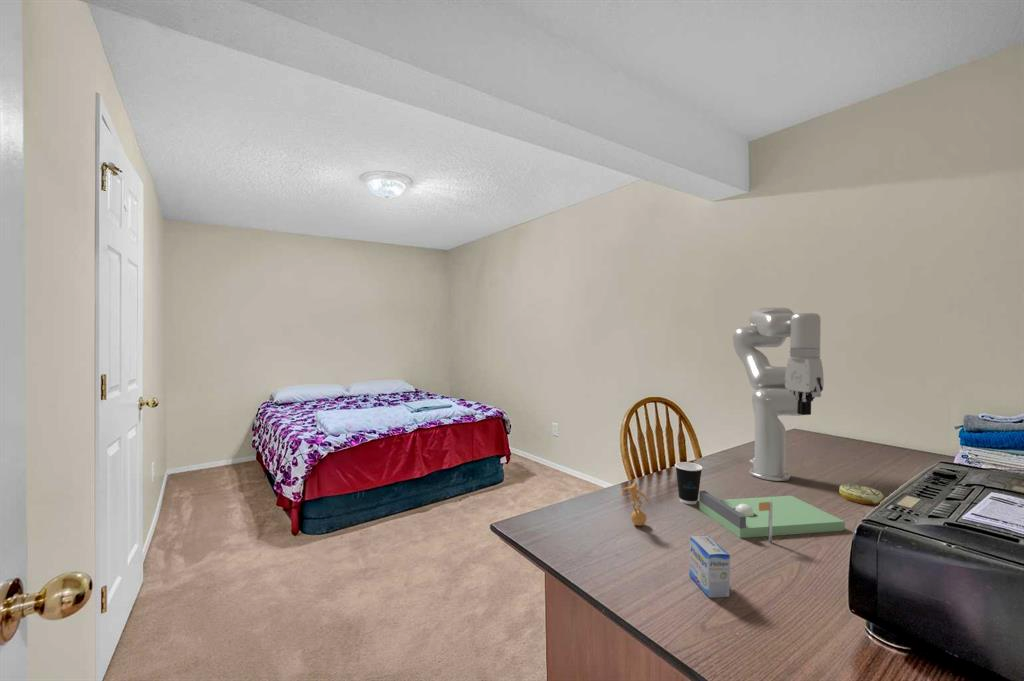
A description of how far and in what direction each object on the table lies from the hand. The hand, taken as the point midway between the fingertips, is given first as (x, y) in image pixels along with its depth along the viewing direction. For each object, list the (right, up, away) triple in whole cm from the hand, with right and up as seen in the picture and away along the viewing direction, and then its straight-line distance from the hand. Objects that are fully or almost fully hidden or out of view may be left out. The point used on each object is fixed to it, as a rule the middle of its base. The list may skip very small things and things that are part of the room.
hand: (804, 414), depth 131 cm
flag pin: (-26, -28, -24) cm, 45 cm away
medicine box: (-49, -28, -43) cm, 70 cm away
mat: (-18, -27, -11) cm, 34 cm away
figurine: (-55, -28, -15) cm, 64 cm away
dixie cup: (-35, -27, +2) cm, 44 cm away
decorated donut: (+20, -28, +3) cm, 34 cm away
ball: (-25, -25, -13) cm, 37 cm away
